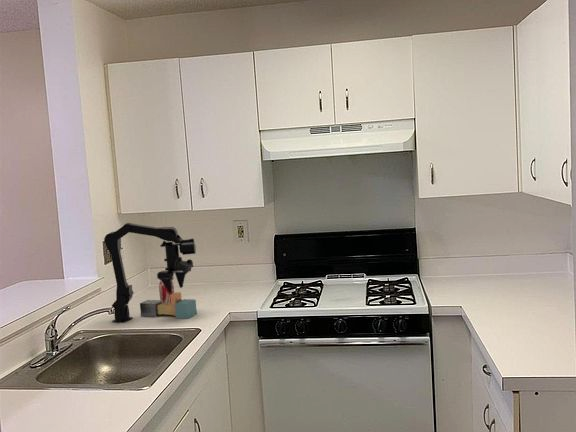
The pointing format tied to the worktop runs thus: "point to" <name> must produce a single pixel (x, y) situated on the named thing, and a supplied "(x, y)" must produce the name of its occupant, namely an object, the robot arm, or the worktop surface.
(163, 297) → the soda can
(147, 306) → the sleeve
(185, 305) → the socket block
